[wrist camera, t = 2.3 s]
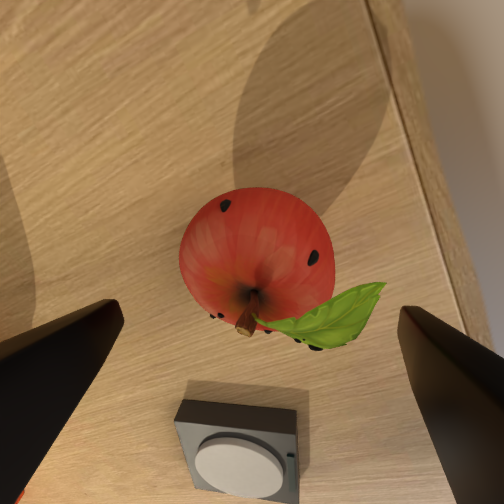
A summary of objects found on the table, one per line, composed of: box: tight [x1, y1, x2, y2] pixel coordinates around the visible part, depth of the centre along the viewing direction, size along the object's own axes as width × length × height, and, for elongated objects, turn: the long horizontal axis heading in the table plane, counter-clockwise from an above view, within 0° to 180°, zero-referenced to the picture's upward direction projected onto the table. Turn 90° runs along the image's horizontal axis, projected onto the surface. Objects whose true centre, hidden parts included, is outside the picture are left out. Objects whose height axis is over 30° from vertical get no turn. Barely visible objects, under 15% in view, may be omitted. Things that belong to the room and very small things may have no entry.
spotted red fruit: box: [179, 187, 386, 351], centre depth 12 cm, size 8×7×10 cm
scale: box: [174, 400, 300, 504], centre depth 24 cm, size 10×10×3 cm
